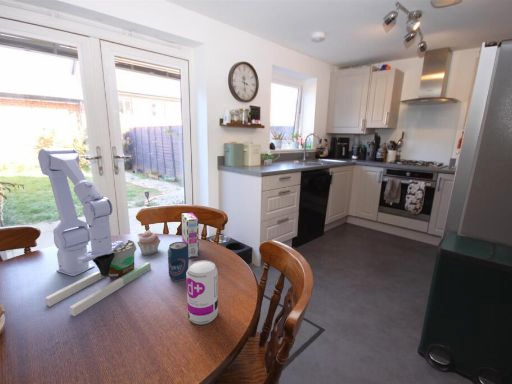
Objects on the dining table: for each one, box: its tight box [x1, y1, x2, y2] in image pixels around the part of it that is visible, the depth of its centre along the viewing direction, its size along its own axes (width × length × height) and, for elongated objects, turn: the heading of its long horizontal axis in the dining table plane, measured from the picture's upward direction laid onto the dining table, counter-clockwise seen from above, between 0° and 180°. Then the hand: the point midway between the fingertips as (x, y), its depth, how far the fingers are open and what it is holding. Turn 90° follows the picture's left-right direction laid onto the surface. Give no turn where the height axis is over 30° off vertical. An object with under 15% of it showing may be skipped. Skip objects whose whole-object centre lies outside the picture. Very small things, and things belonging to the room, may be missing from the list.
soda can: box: [167, 241, 190, 282], centre depth 89 cm, size 7×7×12 cm
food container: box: [108, 239, 137, 279], centre depth 91 cm, size 12×6×10 cm, turn 169°
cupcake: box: [136, 229, 162, 256], centre depth 107 cm, size 9×9×10 cm
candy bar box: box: [181, 212, 200, 259], centre depth 108 cm, size 11×5×16 cm, turn 27°
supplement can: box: [186, 260, 219, 325], centre depth 69 cm, size 8×8×15 cm
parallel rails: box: [44, 261, 152, 317], centre depth 84 cm, size 12×28×2 cm, turn 159°
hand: (104, 275), depth 83 cm, fingers closed
